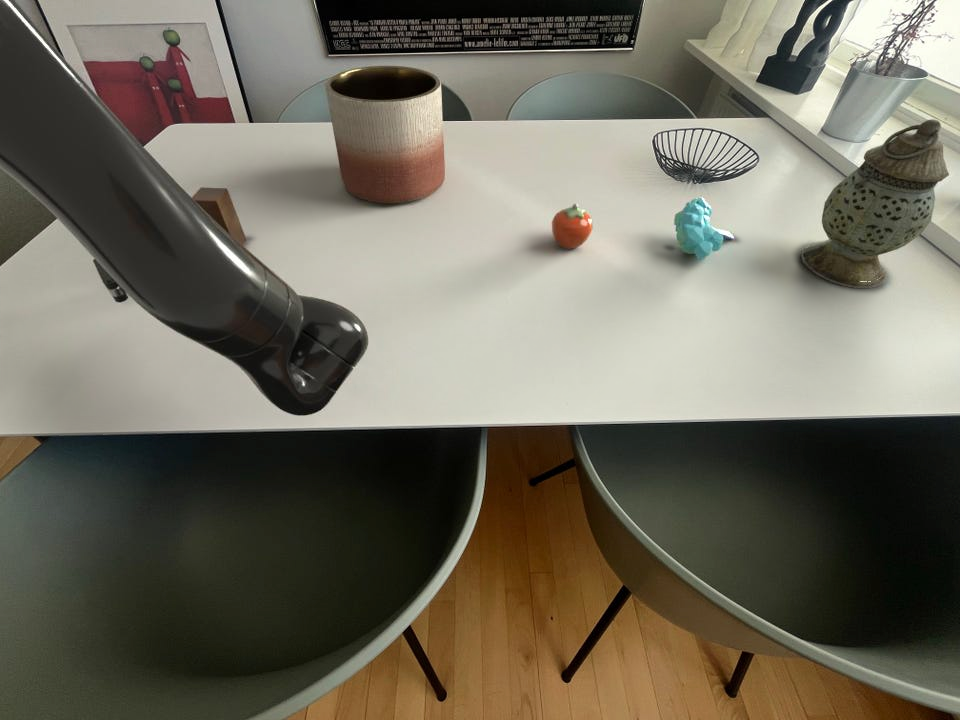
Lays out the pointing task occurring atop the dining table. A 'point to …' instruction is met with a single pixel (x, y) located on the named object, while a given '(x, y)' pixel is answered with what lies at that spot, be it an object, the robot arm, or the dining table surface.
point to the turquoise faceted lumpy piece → (698, 229)
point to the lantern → (879, 207)
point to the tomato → (571, 227)
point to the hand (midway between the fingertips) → (130, 234)
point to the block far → (220, 210)
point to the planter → (388, 132)
